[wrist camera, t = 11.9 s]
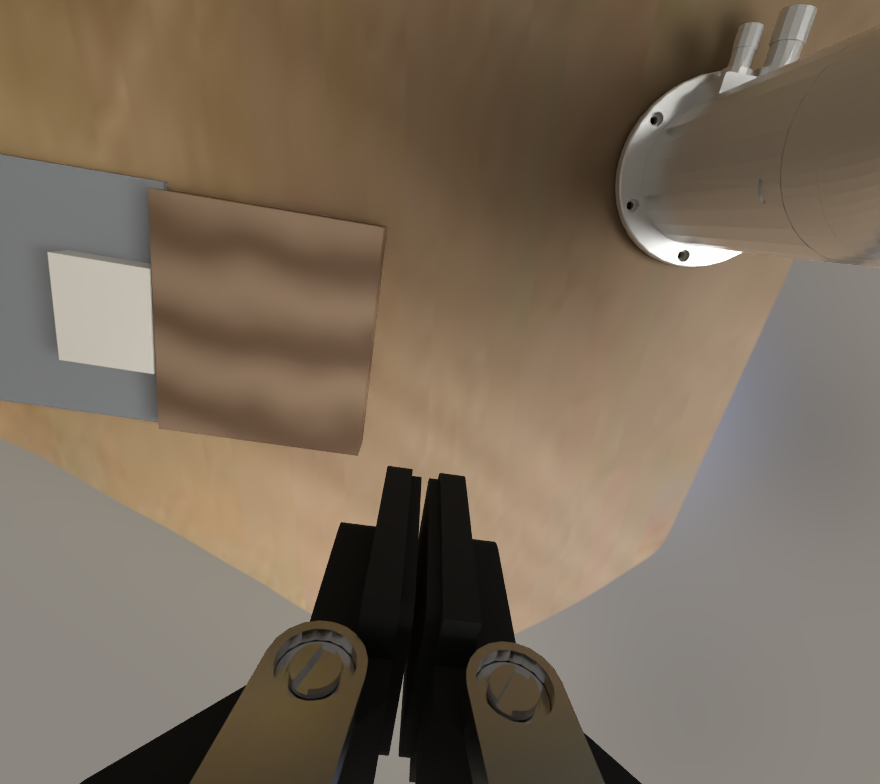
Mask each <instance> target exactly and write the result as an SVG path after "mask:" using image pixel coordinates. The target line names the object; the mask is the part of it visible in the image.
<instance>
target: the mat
mask: <svg viewBox="0 0 880 784" xmlns="http://www.w3.org/2000/svg"><path fill="white" fill-rule="evenodd" d="M148 188H153V189H163V190H167V182H161V181H156V180H150V179H144V178H138V177H132V176H126V175H120V174H114V173H108V172H102V171H96V170H91V169H85V168H79V167H73V166H67V165H61V164H55V163H49V162H43V161H37V160H31V159H25V158H20V157H14V156H8V155H2V154H0V400H3V401H10V402H17V403H24V404H32V405H39V406H46V407H53V408H61V409H68V410H75V411H82V412H90V413H97V414H104V415H111V416H119V417H126V418H133V419H140V420H147V421H155V422H158V400H157V378H156V373H155V374H149V373H143V372H136V371H129V370H123V369H116V368H110V367H103V366H96V365H90V364H83V363H77V362H70V361H63V360H59V354H58V345H57V336H56V327H55V318H54V309H53V299H52V290H51V281H50V272H49V263H48V254H47V252H52V251H63V250H71V251H77V252H83V253H89V254H95V255H101V256H107V257H113V258H119V259H125V260H131V261H137V262H143V263H149V264H151V246H150V225H149V203H148Z"/></svg>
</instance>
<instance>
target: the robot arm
mask: <svg viewBox="0 0 880 784" xmlns="http://www.w3.org/2000/svg"><path fill="white" fill-rule="evenodd" d="M816 12H817V9H816V7H815V6H811V5H807V4H797V5H791V6H788V7H785V8H783V9H782V10H781V11H780V13H779V16H778V19H777V22H776V25H775V28H774V31H773V34H772V37H771V40H770V43H769V46H770V48H769V51H768V54H767V57H766V60H765V63H764V66H763V67H761V68H759V69H757V70H756V71H755V73H754V75H753V70H752V69H750V65H751V62H752V59H753V56H754V53H755V51H756V50H757V47H758V44H759V41H760V38H761V35H762V32H763V29H764V25H763V24H761V23H758V22H748V23H744V24H741V25H740V26H739V28H738V31H737V35H736V38H735V41H734V44H733V47H732V54H731V58H730V61H729V64H728V67H727V68H724V69H722V71H717V72H712V73H707V74H702V75H699V76H697V77H694V78H692V79H690V80H687V81H685V82H683V83H681V84H679V85H677V86H676V87H674V88H672V89H670V90H669V91H668V92H666V93H665V94H664V95H662V96H661V97H660V98H659V99H657V100H656V101H655V102H654V103H653V104H652V105H651V106H650V107H649V108H648V109H647V110H646V111H645V112H644V114H643V115H642V116H641V117H640V118H639V120H638V121H637V123H636V124H635V126H634V127H633V129H632V130H631V132H630V134H629V136H628V138H627V140H626V142H625V145H624V147H623V149H622V151H621V155H620V159H619V163H618V166H617V170H616V182H615V195H616V206H617V209H618V213H619V216H620V220H621V222H622V224H623V226H624V228H625V230H626V232H627V234H628V236H629V237H630V238H631V239H632V241H633V242H634V243H635V244H636V245H637V247H638V248H640V249H641V250H642V251H644V252H645V253H646V254H647V255H649V256H650V257H652V258H654V259H657V260H659V261H661V262H663V263H667V264H671V265H674V266H681V267H690V268H694V267H706V266H711V265H714V264H718V263H722V262H725V261H727V260H729V259H731V258H733V257H735V256H738V255H740V254H741V253H743V252H747V253H756V254H764V255H773V256H781V257H789V258H798V259H806V260H814V261H823V262H832V263H840V264H851V265H860V266H869V267H880V25H878V26H876V27H874V28H871V29H869V30H867V31H864V32H862V33H860V34H857V35H855V36H853V37H850V38H848V39H846V40H843V41H841V42H839V43H836V44H834V45H832V46H829V47H827V48H825V49H822V50H820V51H818V52H815V53H813V54H811V55H808V56H806V57H804V58H801V59H799V60H798V58H799V56H800V53H801V50H802V47H804V45H805V43H806V40H807V37H808V34H809V31H810V29H811V26H812V23H813V20H814V17H815V15H816ZM651 117H652V118H654V120H655V121H654V124H653V125H652V124H651V122H650V118H651ZM628 202H630V203H631V208H630V209H627V203H628ZM679 252H681V256H680V257H679V258H678V254H679ZM412 470H413V469H407V468H400V467H392V466H388V467H387V472H386V477H385V483H384V488H383V493H382V498H381V504H380V509H379V514H378V519H377V525H376V527H374V526H366V525H359V524H351V523H343V522H341V524H340V526H339V529H338V532H337V535H336V538H335V542H334V545H333V548H332V551H331V555H330V558H329V561H328V564H327V568H326V571H325V574H324V577H323V581H322V584H321V587H320V590H319V593H318V597H317V600H316V603H315V606H314V610H313V613H312V616H311V620H310V622H304V623H302V624H299V625H297V626H294V627H292V628H289V629H288V630H286V631H285V632H284V633H282V634H281V635H279V636H278V637H277V638H276V639H275V640H274V641H273V643H272V644H271V645H270V646H269V648H268V649H267V651H266V652H265V654H264V656H263V657H262V659H261V661H260V663H259V665H258V666H257V668H256V670H255V671H254V673H253V675H252V676H251V678H250V680H249V682H248V683H247V685H246V686H244V687H242V688H240V689H239V690H237V691H235V692H234V693H232V694H230V695H229V696H227V697H225V698H223V699H222V700H220V701H218V702H217V703H215V704H213V705H212V706H210V707H208V708H207V709H205V710H203V711H201V712H200V713H198V714H196V715H195V716H193V717H191V718H189V719H188V720H186V721H184V722H183V723H181V724H179V725H177V726H176V727H174V728H173V729H171V730H169V731H167V732H166V733H164V734H162V735H160V736H159V737H157V738H155V739H154V740H152V741H150V742H149V743H147V744H145V745H143V746H142V747H140V748H138V749H137V750H135V751H133V752H131V753H130V754H128V755H126V756H125V757H123V758H121V759H120V760H118V761H116V762H115V763H113V764H111V765H109V766H108V767H106V768H104V769H103V770H101V771H99V772H97V773H96V774H94V775H92V776H91V777H89V778H87V779H86V780H84V781H83V782H81V783H80V784H373V783H374V778H375V772H376V766H377V760H378V755H389V751H390V746H391V740H392V735H393V729H394V724H395V719H396V713H397V708H398V702H399V697H400V691H401V685H402V679H403V675H404V682H403V697H402V711H401V727H400V741H399V757H407V758H410V777H409V781H410V782H416V783H415V784H641V783H640V782H639V781H638V780H637V779H636V778H635V777H633V776H632V775H631V774H630V773H629V772H628V771H627V770H626V769H624V768H623V767H622V766H621V765H620V764H619V763H618V762H617V761H615V760H614V759H613V758H612V757H611V756H610V755H609V754H607V753H606V752H605V751H604V750H603V749H602V748H601V747H600V746H598V745H597V744H596V743H595V742H594V741H593V740H592V739H590V738H589V737H588V736H587V735H586V734H585V733H584V732H583V731H582V728H581V726H580V724H579V721H578V719H577V716H576V714H575V712H574V710H573V707H572V705H571V702H570V700H569V698H568V695H567V693H566V691H565V688H564V686H563V683H562V681H561V680H560V678H559V676H558V675H557V673H556V671H555V669H554V668H553V667H552V666H551V665H550V664H549V663H548V662H547V661H546V660H545V659H544V658H543V657H542V656H541V655H539V654H538V653H536V652H534V651H533V650H532V649H530V648H527V647H525V646H522V645H519V644H517V643H516V642H515V637H514V632H513V626H512V621H511V616H510V610H509V605H508V600H507V594H506V589H505V584H504V578H503V573H502V568H501V562H500V557H499V552H498V547H497V544H496V543H495V542H491V541H483V540H476V539H472V533H471V524H470V515H469V506H468V497H467V489H466V480H465V476H458V475H451V474H444V473H440V474H439V477H438V479H431V478H429V481H428V486H427V492H426V498H425V503H424V509H423V515H422V521H421V526H420V532H419V517H420V498H421V477H416V476H412ZM418 535H419V538H418Z"/></svg>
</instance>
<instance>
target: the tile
mask: <svg viewBox="0 0 880 784" xmlns="http://www.w3.org/2000/svg"><path fill="white" fill-rule="evenodd" d="M47 254H48V263H49V272H50V281H51V290H52V299H53V309H54V318H55V327H56V336H57V345H58V354H59V360H63V361H70V362H77V363H83V364H90V365H96V366H103V367H110V368H116V369H123V370H129V371H136V372H143V373H149V374H155V373H156V356H155V334H154V312H153V290H152V268H151V264H149V263H143V262H137V261H131V260H125V259H119V258H113V257H107V256H101V255H95V254H89V253H83V252H77V251H71V250H63V251H52V252H47Z"/></svg>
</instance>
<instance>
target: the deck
mask: <svg viewBox="0 0 880 784" xmlns="http://www.w3.org/2000/svg"><path fill="white" fill-rule="evenodd" d="M148 203H149V225H150V246H151V268H152V290H153V312H154V334H155V356H156V378H157V400H158V422H159V429H167V430H174V431H181V432H189V433H196V434H203V435H210V436H218V437H225V438H232V439H240V440H247V441H254V442H261V443H269V444H276V445H283V446H291V447H298V448H305V449H312V450H320V451H327V452H334V453H342V454H349V455H356V456H358V454H359V451H360V447H361V444H362V440H363V431H364V422H365V414H366V405H367V396H368V388H369V379H370V370H371V362H372V353H373V344H374V336H375V327H376V318H377V310H378V301H379V293H380V284H381V275H382V267H383V258H384V249H385V241H386V232H387V227H385V226H379V225H373V224H367V223H361V222H355V221H349V220H344V219H338V218H332V217H326V216H320V215H314V214H308V213H302V212H296V211H290V210H284V209H278V208H272V207H266V206H260V205H254V204H248V203H242V202H236V201H231V200H225V199H219V198H213V197H207V196H201V195H195V194H189V193H183V192H177V191H171V190H163V189H153V188H148Z"/></svg>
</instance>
